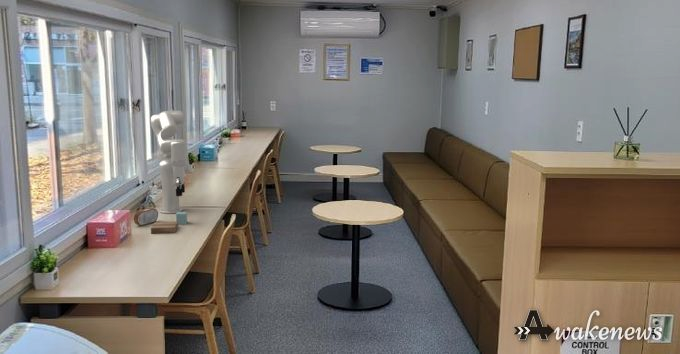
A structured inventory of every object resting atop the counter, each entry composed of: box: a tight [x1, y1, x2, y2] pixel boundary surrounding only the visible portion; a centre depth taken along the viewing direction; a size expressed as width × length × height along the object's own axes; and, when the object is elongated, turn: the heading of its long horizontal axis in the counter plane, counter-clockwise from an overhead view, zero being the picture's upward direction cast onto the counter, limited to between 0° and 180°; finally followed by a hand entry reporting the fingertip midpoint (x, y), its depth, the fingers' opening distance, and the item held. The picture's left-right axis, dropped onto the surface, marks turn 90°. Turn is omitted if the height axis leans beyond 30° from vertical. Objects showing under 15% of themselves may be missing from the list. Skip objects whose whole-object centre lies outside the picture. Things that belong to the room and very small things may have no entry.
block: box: [175, 211, 188, 226], centre depth 317 cm, size 5×5×6 cm
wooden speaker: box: [133, 207, 159, 227], centre depth 316 cm, size 15×3×8 cm, turn 149°
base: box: [150, 221, 179, 235], centre depth 304 cm, size 12×12×3 cm
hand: (180, 194), depth 314 cm, fingers open, 9 cm apart
